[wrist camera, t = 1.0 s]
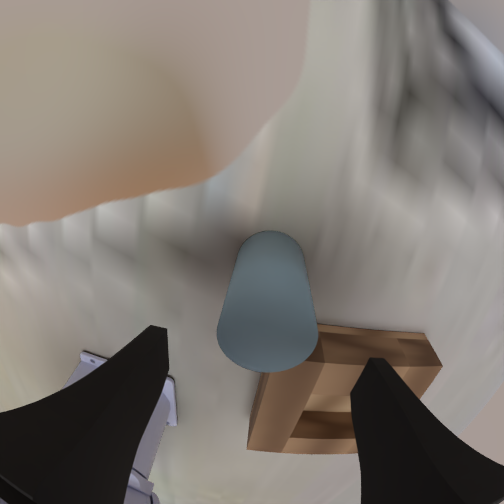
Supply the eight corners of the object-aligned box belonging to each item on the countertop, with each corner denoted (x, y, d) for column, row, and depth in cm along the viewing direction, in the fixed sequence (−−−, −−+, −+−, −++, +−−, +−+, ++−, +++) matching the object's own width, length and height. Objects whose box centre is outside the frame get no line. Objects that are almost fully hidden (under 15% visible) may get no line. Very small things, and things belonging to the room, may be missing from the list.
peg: (233, 285, 18) (213, 364, 12) (241, 225, 17) (221, 287, 10) (296, 295, 18) (303, 377, 12) (310, 236, 17) (330, 303, 10)
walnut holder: (250, 416, 24) (246, 449, 20) (274, 318, 19) (274, 357, 16) (367, 422, 24) (373, 452, 20) (424, 333, 19) (442, 366, 15)
